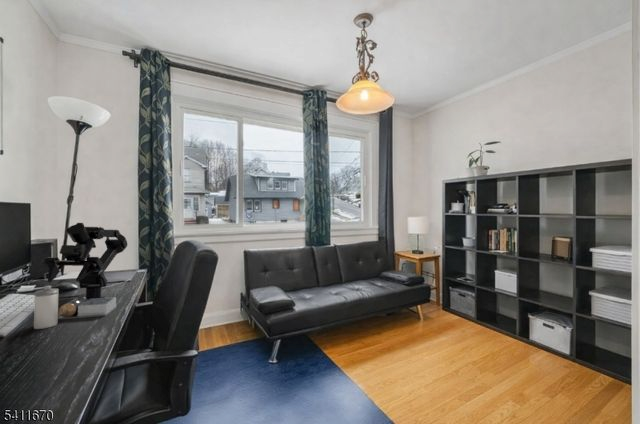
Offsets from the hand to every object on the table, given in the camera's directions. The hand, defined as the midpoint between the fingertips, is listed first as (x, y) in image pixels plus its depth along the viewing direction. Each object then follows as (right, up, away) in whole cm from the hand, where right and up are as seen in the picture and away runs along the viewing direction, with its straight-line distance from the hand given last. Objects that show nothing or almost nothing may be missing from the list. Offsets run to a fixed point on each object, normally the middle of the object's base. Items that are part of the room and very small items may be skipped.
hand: (63, 281), depth 105 cm
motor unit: (+6, -14, +4) cm, 16 cm away
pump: (+1, -14, -8) cm, 16 cm away
